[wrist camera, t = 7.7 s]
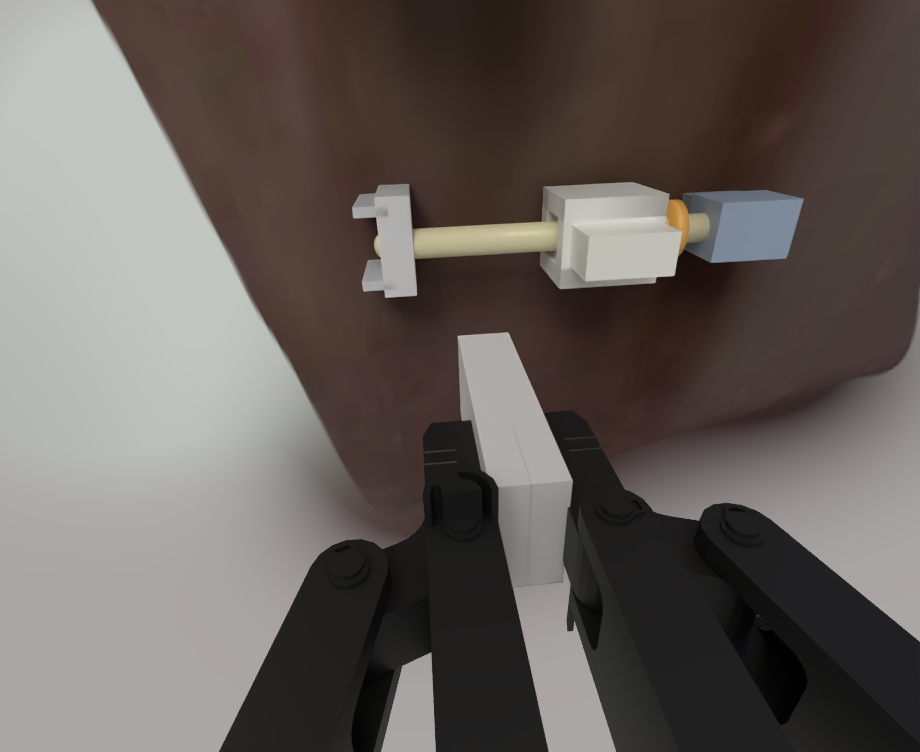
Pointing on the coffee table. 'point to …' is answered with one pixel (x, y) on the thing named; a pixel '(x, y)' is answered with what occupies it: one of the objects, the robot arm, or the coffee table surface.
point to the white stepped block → (609, 235)
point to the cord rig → (698, 217)
